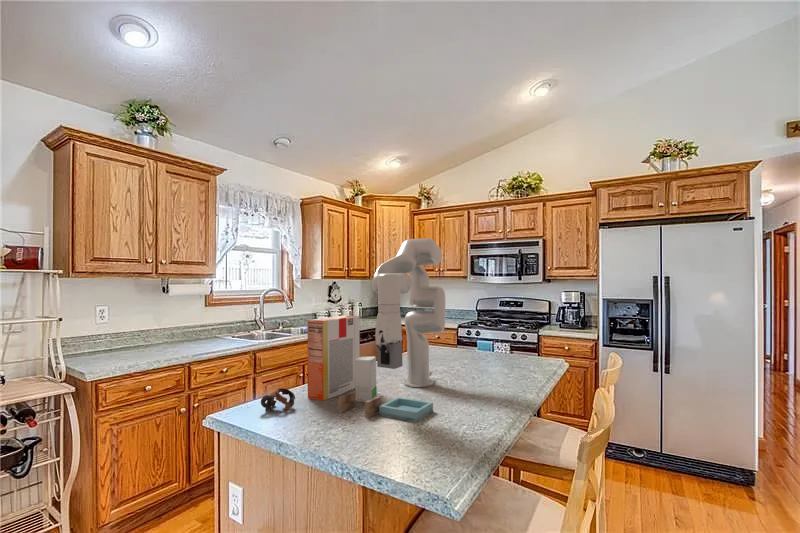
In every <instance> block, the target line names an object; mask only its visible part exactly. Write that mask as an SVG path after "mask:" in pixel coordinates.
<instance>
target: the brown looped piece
mask: <svg viewBox="0 0 800 533" xmlns="http://www.w3.org/2000/svg"><path fill="white" fill-rule="evenodd" d="M283 395H288V396H289V399H288V398H287V397H286V396H283ZM295 399H296V395H295V393H294V392H292V391H291V390H290V389H287V388H284V387H278V388H277V389H276V390H274V391H273V392H272V393H270V394H269V395H268V394H266V395H263V396H262V397H261V399H260V405H261V406H262V408H264V409H265V411H270V410H271V407H275V406H276V403H277V402H279V403H282V404H283V405H285V406H284V408H283V412H286V413H288V411H289V410H290V409H292V408H293V406H294V405H295Z"/></svg>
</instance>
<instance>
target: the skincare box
mask: <svg viewBox="0 0 800 533" xmlns="http://www.w3.org/2000/svg"><path fill="white" fill-rule="evenodd" d="M376 357H377V356H360V357H359V358H357V359H356V360H355V378H356V388H355V392H356V402H359V403H361V402H362V403H365V402H366V401H368V400H370V399H373V398H375V397H377V396H378V395H377V394H378V392H377V390H378V389H377V388H378V387H377V358H376Z"/></svg>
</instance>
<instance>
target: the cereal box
mask: <svg viewBox="0 0 800 533" xmlns="http://www.w3.org/2000/svg"><path fill="white" fill-rule="evenodd" d="M360 335H361V334H360V315H346V314H345V315H339V316H337V315H336V316H329V317H328V316H327V317H321V318H314V319H313V318H312V319H307V398H308V399H314V400H319V401H326V400H329V399H332V398H334V397H337V396H339V395H342V394H344V393H347V392H349V391H348V390H350V391H352V390H354V389H353V388H355V389H356V378H355V360H356V359H357V358H359V357H361V354H360V351H361V350H360V348H361V347H360V346H361V345H360V343H361V342H360V341H361V340H360ZM351 389H352V390H351ZM346 391H347V392H346ZM341 393H342V394H341Z"/></svg>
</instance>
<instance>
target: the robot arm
mask: <svg viewBox="0 0 800 533" xmlns="http://www.w3.org/2000/svg"><path fill="white" fill-rule="evenodd" d="M442 257H443V255H442V250H441V247H440V246H439V245H438V244H437V242H436V241H435V240H433V239H431V238H426V237H425V238H408V239H406V240H404V241H403V242H402V243H401V246H400V248H399V249H398V251H397V253H396V256H394V257H392V258H390V259H388V260H387V261H385V262H383V263H381V264H380V265H379V266H378V267H377V269H376V271H375V273H374V275H373V277H372V282H371V286H372V290H373V291H374V292H375V293H376V294H377V302H378V303H377V304H378V306H377V307H378V310H377V312H378V313H377V315H376V322H375V335H374V336H375V338H374V339H375V346H376V348H377V347H378V348H379V350H380V352H381V364H386V365H389V353H388V349H389V344H390V343H392V342H393V341H395V340H396V342H399V343H402V341H403V338H404V337H403V336H402V335H403V327H402V319H401V295H403V294H404V295H405V294H407V293H408V295H409V296H408V297H409V298H408V299H409V300H408V301H409V305H410V306H411V307H413V308H417V309H418V308H419V309H433V310H411V311H409V312H407V313H406V314H405V317H404V326H405V327H404V328H405V331H406V354H407V355H406V363H407V364H406V365H407V375H406V376H407V378H406V379H405V380H404V381H403V384H404V386H406V387H409V388H410V387H411V388H426V387H431V386H432V385H433V384H434V381H433V380H432V379H430V376H433V371H432V370H430V344H429V341H428V339H427V337H426V335H425V334H440V333H443V332H444V331H445V326H446V293H445V290H444V288H443V287H441V286H437V285H435V286H434V285H432V286H431V285H430V275H429V273H428V272H427V270H426V269H425V268H424V267H423V266H436V265H439V264H441V261H442ZM408 273H409V274H408ZM384 342H385V343H384ZM384 345H386V347H384Z"/></svg>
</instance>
